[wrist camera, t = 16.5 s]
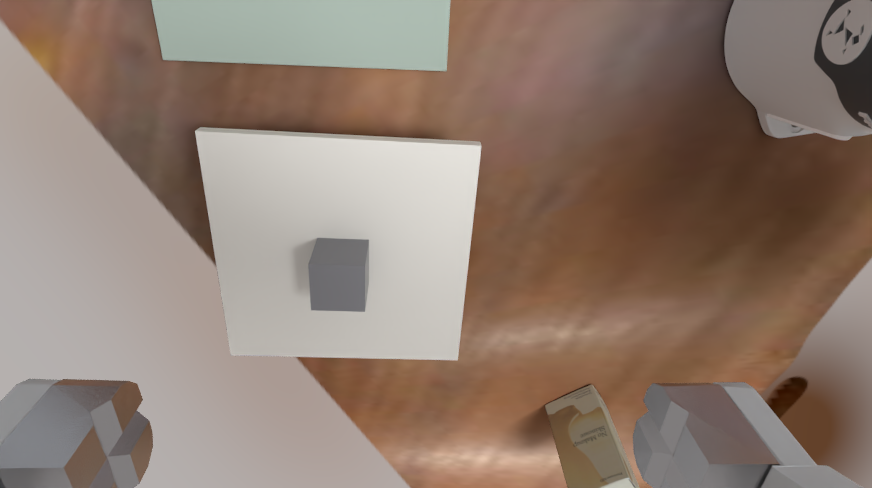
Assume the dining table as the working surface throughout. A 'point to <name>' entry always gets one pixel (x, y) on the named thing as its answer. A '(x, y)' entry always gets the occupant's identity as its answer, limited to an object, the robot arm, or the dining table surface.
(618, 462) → the skincare box
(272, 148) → the lid
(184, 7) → the mat
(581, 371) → the dining table surface
